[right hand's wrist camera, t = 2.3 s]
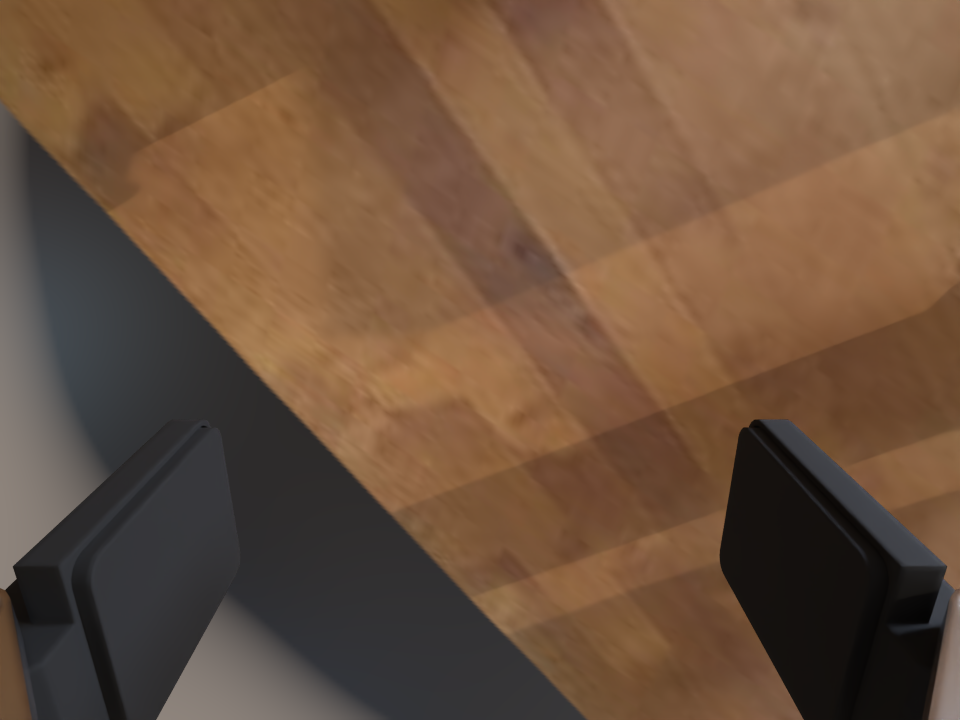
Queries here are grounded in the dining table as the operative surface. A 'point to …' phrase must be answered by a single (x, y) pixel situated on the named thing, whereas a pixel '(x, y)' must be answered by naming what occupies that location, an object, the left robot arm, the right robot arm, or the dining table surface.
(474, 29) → the dining table surface
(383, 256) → the dining table surface
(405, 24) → the dining table surface
